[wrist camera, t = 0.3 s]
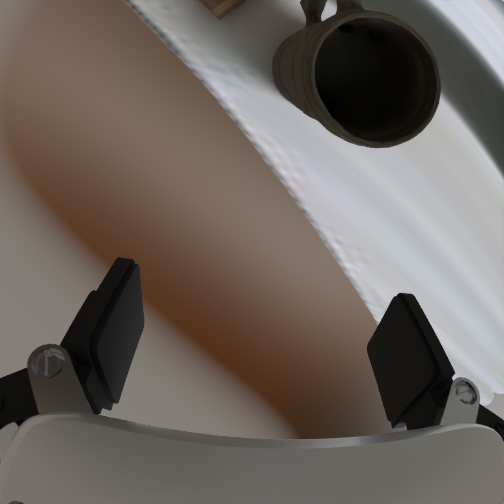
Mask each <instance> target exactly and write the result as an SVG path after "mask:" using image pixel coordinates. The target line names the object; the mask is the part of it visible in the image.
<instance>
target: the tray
mask: <svg viewBox="0 0 504 504" xmlns="http://www.w3.org/2000/svg"><path fill="white" fill-rule="evenodd" d="M200 1H201V2H202V3H203V4H204V5H205V6H206V7H207V8H208V9H209V10H210V11H211V12H212V13H213V14H214V15H215V16H216V17H217V18H218V19H220V18H221V17H223V16H224V15H225V14H227V13H228V12H230V11H231V10H233V9H234V8H236V7H237V6H239V5H240V4H242V3H243V2H245V1H246V0H200Z"/></svg>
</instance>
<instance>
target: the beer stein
mask: <svg viewBox="0 0 504 504" xmlns="http://www.w3.org/2000/svg"><path fill="white" fill-rule="evenodd" d="M326 2H327V0H301V1H300V4H301V6H302V9H303V11H304V13H305V16H306V26H305V28H303V29H302V30H300V31H298V32H296V33H295V34H293V35H292V36H290V37H288V38H287V39H286V40H285V41H284V42H282V44H281V45H280V46H279V48H278V49H277V51H276V53H275V55H274V58H273V66H272V70H273V77H274V81H275V83H276V85H277V87H278V89H279V91H280V92H281V94H282V95H283V96H284V97H285V98H286V99H287V100H289V101H290V102H291V103H292V104H293V105H295V106H296V107H297V108H298V109H300V110H301V111H303V113H304V114H306V115H308V116H309V117H311V118H313V119H315V120H317V121H319V122H320V123H321V124H322V125H323V126H324V127H325V128H326V129H327V130H328V131H330V132H331V133H332V134H334V135H336V136H338V137H340V138H341V139H343V140H345V141H347V142H349V143H353V144H356V145H359V146H365V147H370V148H389V147H392V146H396V145H399V144H401V143H404V142H406V141H409V140H410V139H412V138H414V137H415V136H417V135H418V134H419V133H421V132H422V131H423V130H424V128H425V127H426V126H427V125H428V124H429V123H430V121H431V120H432V118H433V116H434V114H435V112H436V110H437V107H438V104H439V100H440V93H441V76H440V72H439V68H438V64H437V60H436V58H435V56H434V54H433V52H432V50H431V48H430V47H429V45H428V43H427V42H426V41H425V40H424V38H423V37H422V36H421V35H420V34H419V33H418V32H417V31H416V30H415V29H414V28H413V27H411V26H410V25H409V24H407V23H406V22H404V21H402V20H400V19H398V18H396V17H394V16H392V15H389V14H386V13H382V12H376V11H369V10H364V9H363V7H362V4H361V0H337V12H336V14H335V15H333V16H331V17H329V18H327V19H326V20H325V21H321V15H322V12H323V10H324V7H325V4H326Z"/></svg>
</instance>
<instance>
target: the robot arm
mask: <svg viewBox="0 0 504 504" xmlns="http://www.w3.org/2000/svg"><path fill="white" fill-rule="evenodd" d="M143 328H144V313H143V303H142V293H141V281H140V268H139V265H138V264H135V261H134V260H133V259H127V258H120V257H118V258H117V259H116V260H115V262H114V264H113V265H112V267H111V268H110V270H109V271H108V273H107V275H106V276H105V278H104V279H103V281H102V283H101V284H100V286H99V288H98V289H97V291H95V290H93V291H91V293H90V294H89V295H88V297H87V298H86V300H85V302H84V303H83V305H82V307H81V309H80V310H79V312H78V313H77V315H76V317H75V319H74V320H73V322H72V324H71V326H70V327H69V329H68V331H67V333H66V334H65V336H64V338H63V340H62V342H61V344H60V346H59V345H56V344H46V345H42V346H40V347H38V348H36V349H35V350H34V351H33V352H32V353H31V355H30V356H29V358H28V362H27V368H25V369H22V370H20V371H17V372H15V373H12V374H10V375H7V376H5V377H2V378H0V463H1V464H0V504H504V420H503V419H501V418H500V417H498V416H497V415H495V414H494V413H492V412H491V411H489V410H488V409H486V408H485V407H484V406H482V405H481V404H479V403H480V394H479V391H478V389H477V387H476V386H475V385H474V383H473V382H471V381H470V380H469V379H466V378H462V377H460V378H456V379H455V380H454V381H453V380H452V377H453V375H454V374H455V371H454V369H453V367H452V365H451V363H450V361H449V359H448V357H447V355H446V353H445V351H444V349H443V347H442V345H441V343H440V341H439V339H438V337H437V336H436V334H435V332H434V330H433V328H432V326H431V324H430V323H429V321H428V319H427V317H426V315H425V314H424V312H423V310H422V308H421V307H420V305H419V303H418V301H417V300H416V298H415V296H414V295H413V294H407V293H399V294H397V296H395V297H393V299H392V301H391V303H390V305H389V306H388V308H387V310H386V312H385V314H384V316H383V318H382V320H381V321H380V323H379V325H378V327H377V329H376V331H375V332H374V334H373V336H372V338H371V339H370V341H369V343H368V346H367V352H368V356H369V359H370V362H371V365H372V369H373V372H374V375H375V378H376V381H377V385H378V388H379V392H380V395H381V399H382V402H383V406H384V409H385V413H386V416H387V419H388V420H389V421H390V422H391V425H392V428H400V427H404V426H405V425H406V427H407V431H402V432H396V433H388V434H380V435H371V436H362V437H350V438H334V439H304V440H301V439H300V440H298V439H297V440H293V439H292V440H291V439H289V440H288V439H286V440H285V439H257V438H256V439H255V438H240V437H228V436H218V435H209V434H200V433H193V432H186V431H180V430H174V429H167V428H161V427H156V426H150V425H145V424H140V423H135V422H130V421H126V420H121V419H116V418H110V417H106V416H101V415H98V414H100V413H101V410H102V408H104V409H107V410H111V409H112V406H113V403H116V404H117V403H118V402H119V400H120V396H121V393H122V390H123V387H124V383H125V381H126V377H127V374H128V371H129V368H130V365H131V362H132V359H133V356H134V354H135V351H136V348H137V345H138V342H139V339H140V337H141V334H142V331H143Z"/></svg>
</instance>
